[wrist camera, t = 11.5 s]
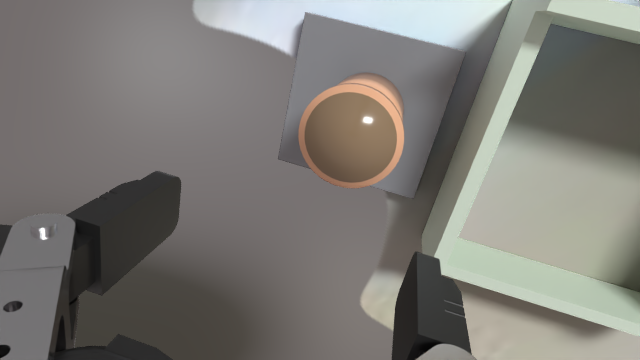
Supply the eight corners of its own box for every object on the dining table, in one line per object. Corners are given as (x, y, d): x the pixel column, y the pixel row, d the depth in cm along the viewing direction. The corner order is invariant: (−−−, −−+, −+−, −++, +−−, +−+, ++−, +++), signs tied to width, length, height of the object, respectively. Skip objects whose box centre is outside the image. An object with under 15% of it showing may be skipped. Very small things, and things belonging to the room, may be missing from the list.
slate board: (310, 12, 30) (305, 12, 29) (463, 50, 29) (466, 51, 28) (283, 153, 35) (277, 159, 34) (413, 191, 34) (413, 198, 33)
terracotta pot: (336, 59, 30) (310, 72, 23) (418, 82, 29) (419, 102, 22) (317, 137, 32) (289, 171, 25) (392, 160, 32) (385, 201, 24)
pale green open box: (513, -2, 27) (555, -12, 19) (831, 70, 25) (1034, 94, 17) (421, 236, 35) (423, 301, 27) (653, 307, 33) (732, 401, 25)
